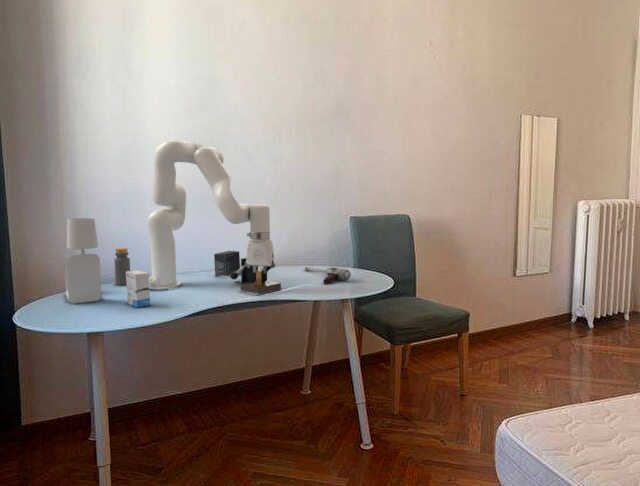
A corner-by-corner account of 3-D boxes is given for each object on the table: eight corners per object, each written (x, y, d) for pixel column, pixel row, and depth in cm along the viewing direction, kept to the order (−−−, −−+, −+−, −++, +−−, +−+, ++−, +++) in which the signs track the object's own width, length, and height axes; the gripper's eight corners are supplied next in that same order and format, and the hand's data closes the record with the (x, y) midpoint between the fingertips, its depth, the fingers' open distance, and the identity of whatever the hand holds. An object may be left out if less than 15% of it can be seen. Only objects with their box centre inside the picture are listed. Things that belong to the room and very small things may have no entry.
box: (229, 272, 246) (228, 250, 245) (240, 273, 243) (240, 251, 242) (214, 276, 236) (213, 253, 235) (225, 277, 234) (225, 254, 232)
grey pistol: (287, 280, 246) (310, 271, 254) (330, 288, 218) (355, 279, 226) (285, 270, 245) (308, 262, 253) (328, 277, 218) (353, 268, 225)
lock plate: (257, 295, 200) (257, 287, 200) (240, 291, 207) (240, 284, 206) (280, 290, 210) (280, 282, 209) (263, 286, 216) (263, 279, 215)
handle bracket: (247, 287, 215) (246, 260, 214) (234, 284, 220) (234, 258, 219) (263, 283, 222) (263, 258, 221) (251, 280, 227) (250, 256, 226)
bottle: (115, 283, 222) (114, 247, 220) (130, 282, 224) (129, 247, 222) (115, 285, 216) (113, 249, 215) (130, 284, 218) (128, 249, 217)
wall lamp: (96, 291, 207) (92, 214, 203) (103, 302, 189) (99, 219, 185) (65, 294, 201) (61, 215, 198) (70, 306, 183) (65, 220, 180)
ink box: (150, 305, 185) (149, 272, 184) (136, 308, 181) (135, 274, 180) (140, 301, 191) (139, 269, 190) (126, 303, 187) (125, 271, 186)
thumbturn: (261, 285, 205) (261, 270, 204) (256, 284, 205) (256, 270, 205) (265, 282, 210) (265, 268, 209) (260, 282, 210) (260, 268, 210)
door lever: (235, 281, 214) (232, 275, 212) (230, 280, 216) (227, 274, 214) (255, 264, 221) (252, 258, 220) (250, 263, 223) (247, 257, 222)
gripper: (237, 236, 203) (238, 283, 205) (276, 237, 201) (277, 285, 203) (244, 234, 211) (244, 279, 213) (282, 235, 208) (283, 281, 210)
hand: (260, 282), depth 208 cm, fingers closed on thumbturn, 2 cm apart
